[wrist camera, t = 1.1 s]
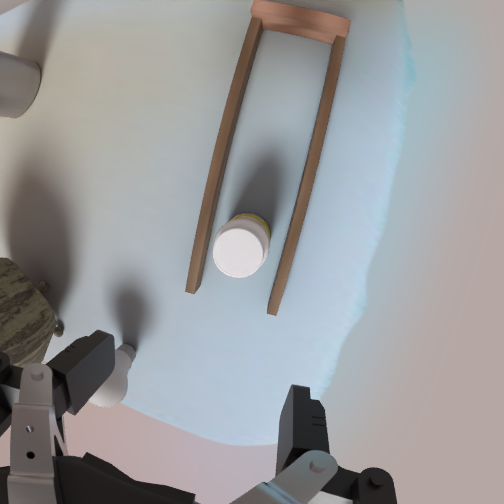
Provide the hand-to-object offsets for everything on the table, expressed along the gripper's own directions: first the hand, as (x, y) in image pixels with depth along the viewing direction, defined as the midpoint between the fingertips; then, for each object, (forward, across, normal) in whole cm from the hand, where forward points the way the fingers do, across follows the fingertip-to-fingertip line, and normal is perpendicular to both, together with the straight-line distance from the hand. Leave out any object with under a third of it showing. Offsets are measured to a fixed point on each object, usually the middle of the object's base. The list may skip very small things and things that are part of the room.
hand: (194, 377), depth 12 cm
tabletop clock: (+20, +30, +12) cm, 38 cm away
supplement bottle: (+21, +1, -3) cm, 21 cm away
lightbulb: (+21, +14, +16) cm, 29 cm away
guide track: (+21, 0, -11) cm, 23 cm away
